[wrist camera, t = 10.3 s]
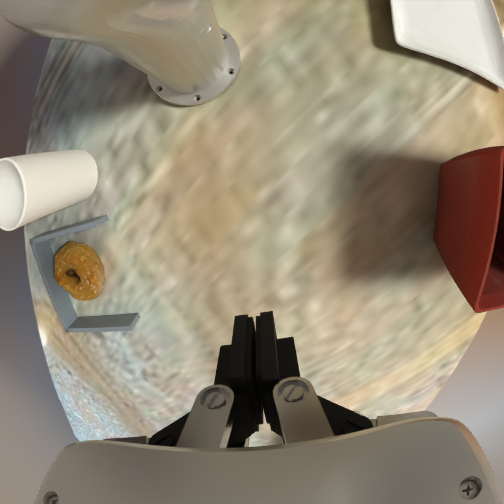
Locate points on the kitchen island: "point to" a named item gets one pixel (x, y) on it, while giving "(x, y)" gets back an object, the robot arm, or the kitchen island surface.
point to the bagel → (79, 271)
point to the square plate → (453, 33)
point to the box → (60, 294)
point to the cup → (43, 184)
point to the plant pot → (473, 225)
